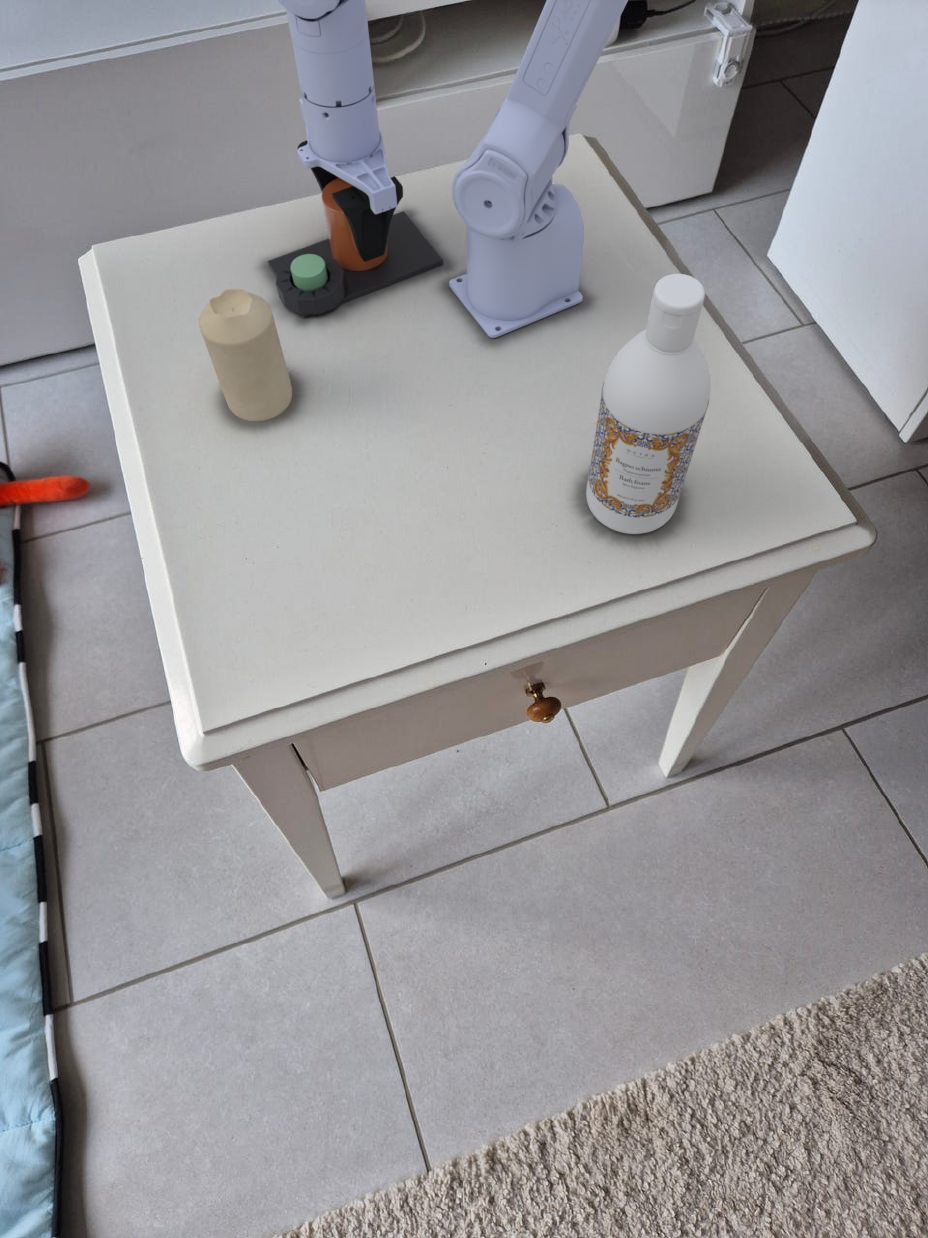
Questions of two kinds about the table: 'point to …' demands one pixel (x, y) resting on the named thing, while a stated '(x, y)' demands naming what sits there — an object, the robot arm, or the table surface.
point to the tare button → (309, 272)
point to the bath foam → (651, 414)
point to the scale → (402, 262)
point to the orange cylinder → (343, 232)
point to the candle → (246, 354)
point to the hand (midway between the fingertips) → (358, 236)
